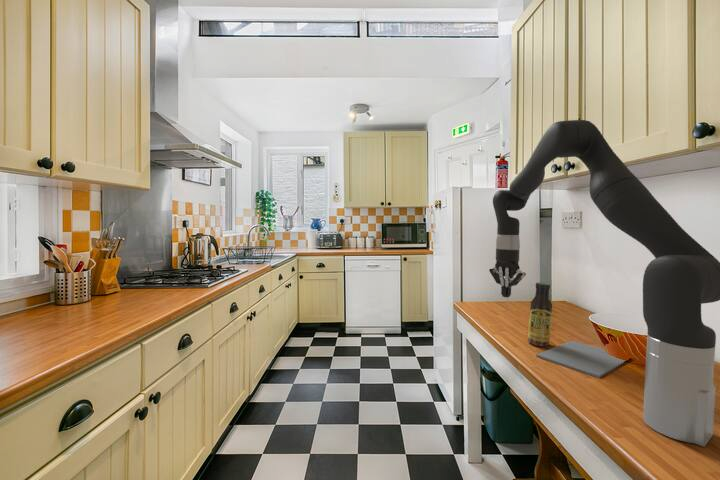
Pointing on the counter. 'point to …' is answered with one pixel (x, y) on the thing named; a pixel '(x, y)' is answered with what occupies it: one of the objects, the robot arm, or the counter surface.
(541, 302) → the sauce bottle
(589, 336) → the counter surface
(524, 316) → the counter surface
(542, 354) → the mat
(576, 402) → the counter surface
